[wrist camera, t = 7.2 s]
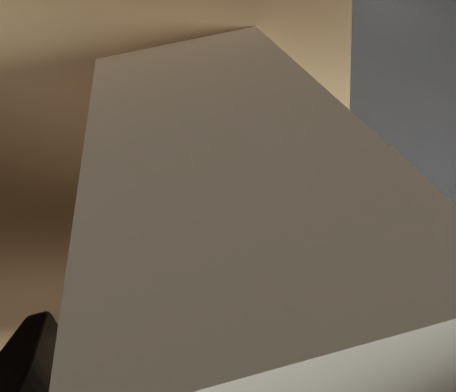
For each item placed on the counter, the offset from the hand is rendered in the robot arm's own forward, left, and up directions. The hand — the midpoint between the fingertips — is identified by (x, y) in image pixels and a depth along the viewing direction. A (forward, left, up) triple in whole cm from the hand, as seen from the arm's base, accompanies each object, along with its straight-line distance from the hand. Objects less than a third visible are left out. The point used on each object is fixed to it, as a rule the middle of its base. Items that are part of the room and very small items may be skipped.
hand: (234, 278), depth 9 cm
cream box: (0, 0, -3) cm, 3 cm away
